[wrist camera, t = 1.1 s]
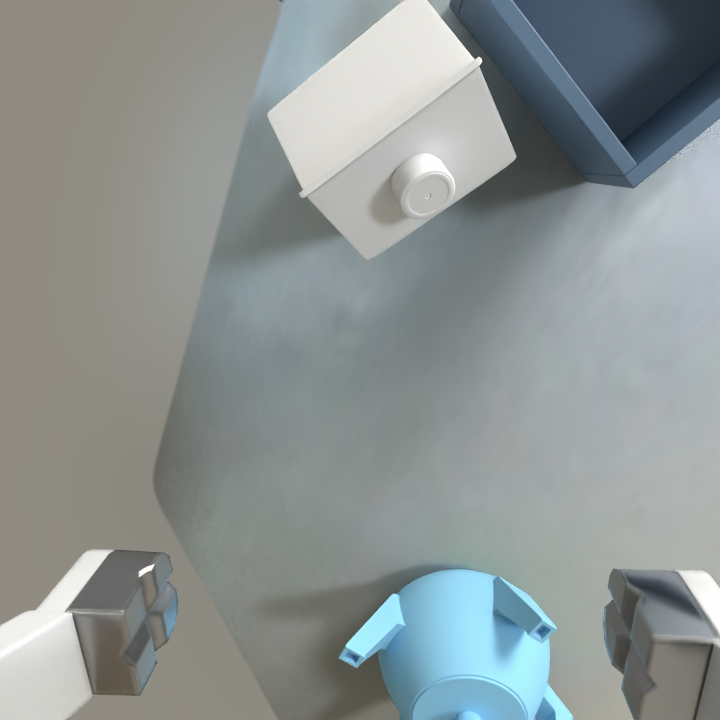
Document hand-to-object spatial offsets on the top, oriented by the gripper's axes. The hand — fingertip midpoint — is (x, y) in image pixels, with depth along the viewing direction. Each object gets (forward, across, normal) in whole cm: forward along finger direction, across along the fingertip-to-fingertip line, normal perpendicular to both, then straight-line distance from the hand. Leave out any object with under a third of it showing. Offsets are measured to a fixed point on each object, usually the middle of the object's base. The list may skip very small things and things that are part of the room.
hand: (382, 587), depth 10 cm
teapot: (+30, -4, +30) cm, 43 cm away
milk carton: (+30, 0, -8) cm, 31 cm away
